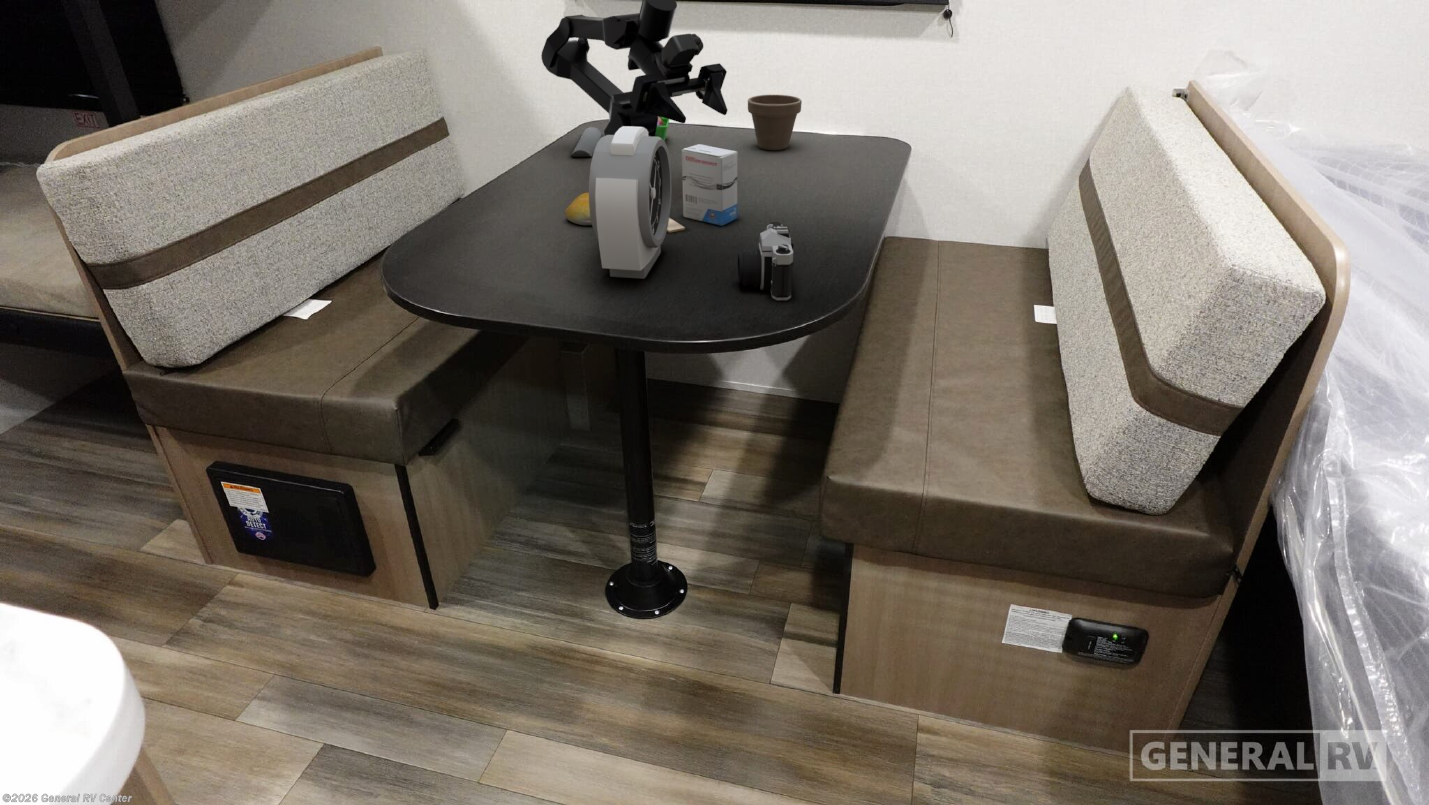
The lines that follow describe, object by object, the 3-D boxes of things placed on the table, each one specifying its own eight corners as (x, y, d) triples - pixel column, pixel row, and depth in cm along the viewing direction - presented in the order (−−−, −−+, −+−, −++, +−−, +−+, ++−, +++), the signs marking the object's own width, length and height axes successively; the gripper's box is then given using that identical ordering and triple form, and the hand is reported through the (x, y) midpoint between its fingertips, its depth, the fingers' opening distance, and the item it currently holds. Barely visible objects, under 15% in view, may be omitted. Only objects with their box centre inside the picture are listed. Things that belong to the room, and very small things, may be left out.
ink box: (738, 218, 151) (739, 149, 145) (721, 227, 148) (721, 156, 142) (699, 209, 156) (698, 142, 150) (681, 217, 152) (680, 148, 146)
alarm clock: (648, 289, 126) (642, 147, 115) (591, 285, 127) (579, 144, 117) (675, 244, 141) (671, 115, 130) (624, 241, 142) (616, 113, 132)
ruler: (628, 206, 158) (628, 203, 157) (643, 203, 159) (643, 201, 159) (669, 232, 146) (669, 230, 145) (685, 229, 147) (685, 227, 147)
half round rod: (570, 158, 184) (569, 149, 183) (583, 134, 201) (582, 126, 200) (590, 158, 184) (590, 149, 183) (601, 134, 201) (601, 126, 200)
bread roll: (561, 225, 149) (558, 202, 147) (577, 208, 157) (575, 186, 154) (608, 228, 148) (606, 205, 146) (622, 211, 155) (621, 188, 153)
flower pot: (765, 137, 198) (766, 90, 193) (809, 144, 193) (811, 97, 187) (736, 148, 190) (737, 100, 185) (781, 156, 185) (782, 107, 179)
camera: (733, 266, 133) (732, 210, 128) (784, 264, 133) (786, 208, 128) (742, 309, 122) (742, 249, 117) (798, 306, 123) (800, 246, 118)
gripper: (622, 26, 147) (674, 83, 141) (709, 16, 157) (760, 69, 151) (609, 84, 155) (658, 140, 150) (692, 71, 165) (741, 122, 160)
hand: (705, 116), depth 152 cm, fingers open, 9 cm apart
